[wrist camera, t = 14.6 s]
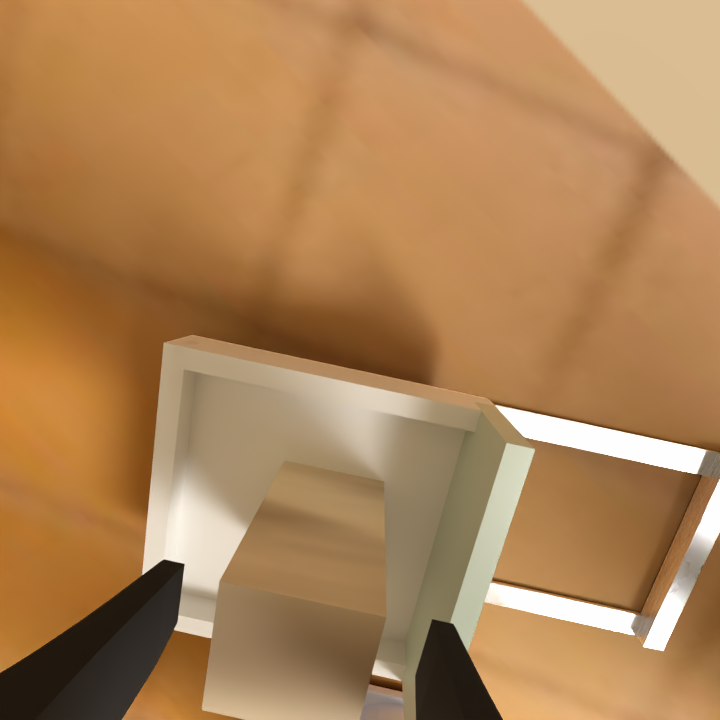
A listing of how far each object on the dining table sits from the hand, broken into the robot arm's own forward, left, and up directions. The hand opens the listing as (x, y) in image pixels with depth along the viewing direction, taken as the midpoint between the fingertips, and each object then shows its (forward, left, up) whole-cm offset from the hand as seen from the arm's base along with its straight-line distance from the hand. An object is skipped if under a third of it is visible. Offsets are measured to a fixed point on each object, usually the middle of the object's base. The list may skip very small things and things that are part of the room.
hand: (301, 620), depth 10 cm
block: (0, 0, -5) cm, 5 cm away
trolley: (0, +1, -8) cm, 8 cm away
